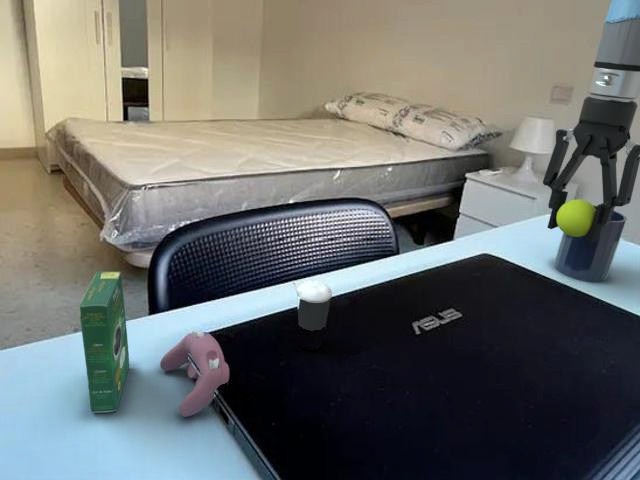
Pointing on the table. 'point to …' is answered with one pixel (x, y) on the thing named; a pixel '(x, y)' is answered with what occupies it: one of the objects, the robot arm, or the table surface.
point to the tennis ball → (575, 217)
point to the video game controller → (209, 365)
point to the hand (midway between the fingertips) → (572, 233)
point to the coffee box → (105, 340)
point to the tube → (590, 252)
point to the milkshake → (313, 304)
